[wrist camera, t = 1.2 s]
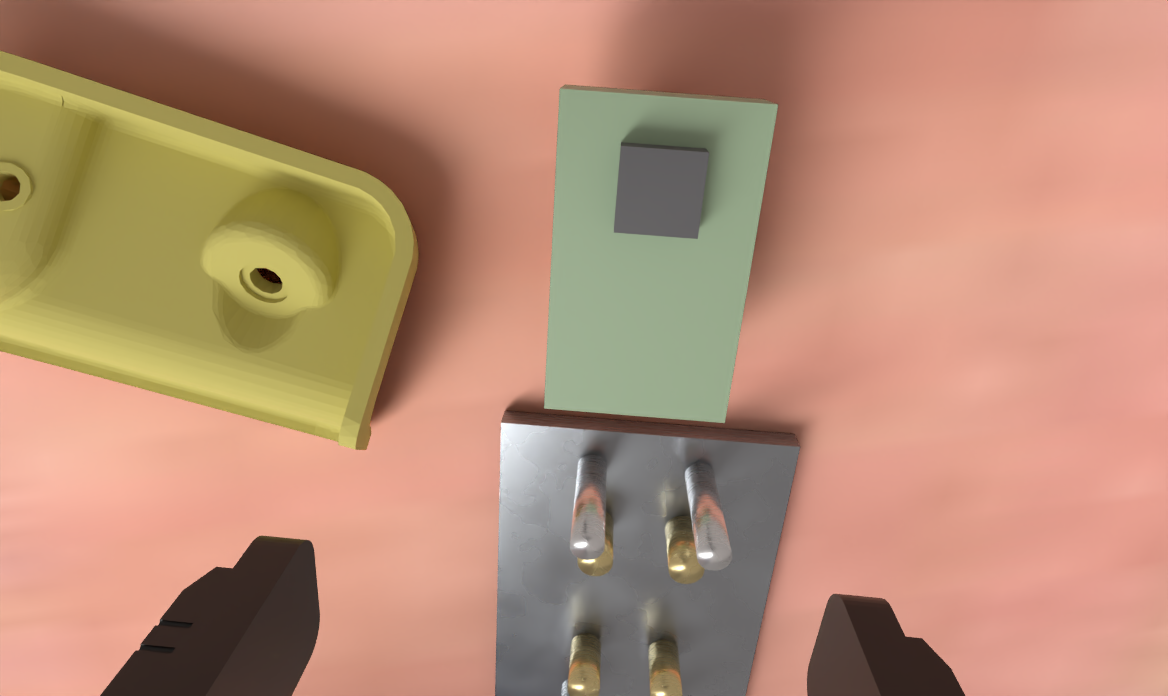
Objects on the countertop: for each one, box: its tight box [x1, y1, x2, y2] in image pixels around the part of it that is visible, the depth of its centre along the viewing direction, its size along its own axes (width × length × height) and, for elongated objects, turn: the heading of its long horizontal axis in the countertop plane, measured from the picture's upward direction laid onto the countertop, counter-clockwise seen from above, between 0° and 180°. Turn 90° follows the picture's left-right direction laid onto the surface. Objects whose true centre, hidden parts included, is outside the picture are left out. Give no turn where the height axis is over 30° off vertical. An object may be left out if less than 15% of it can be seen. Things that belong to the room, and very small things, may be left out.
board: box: [544, 85, 778, 423], centre depth 22 cm, size 10×6×3 cm, turn 176°
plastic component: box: [0, 51, 419, 450], centre depth 25 cm, size 20×7×10 cm
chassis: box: [495, 411, 800, 696], centre depth 29 cm, size 16×12×6 cm
